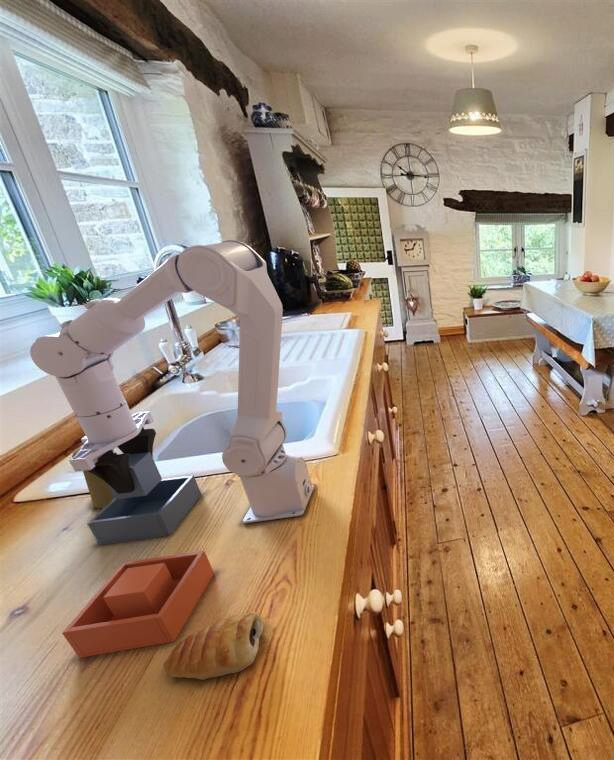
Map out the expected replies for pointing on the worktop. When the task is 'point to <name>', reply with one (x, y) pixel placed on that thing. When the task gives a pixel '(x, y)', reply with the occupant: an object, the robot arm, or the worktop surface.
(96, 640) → the terracotta bin
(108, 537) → the slate bin
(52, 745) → the worktop surface
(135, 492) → the slate block
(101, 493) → the cork
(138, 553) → the worktop surface
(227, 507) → the worktop surface
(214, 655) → the pastry
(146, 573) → the terracotta block
